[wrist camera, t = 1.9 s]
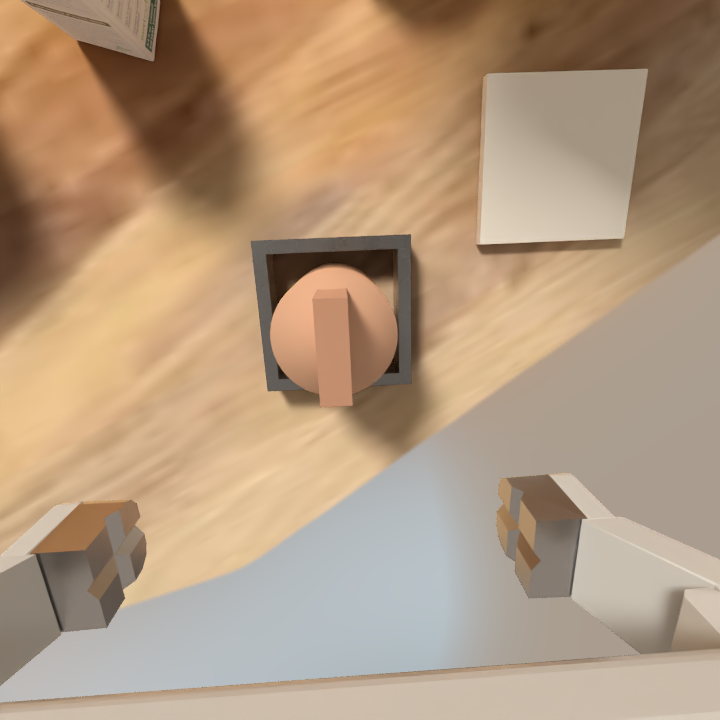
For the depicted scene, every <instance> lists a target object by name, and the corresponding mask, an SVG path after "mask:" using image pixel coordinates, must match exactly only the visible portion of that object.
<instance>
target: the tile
mask: <svg viewBox="0 0 720 720" xmlns="http://www.w3.org/2000/svg"><path fill="white" fill-rule="evenodd" d="M647 74H648V69H621V70H586V71H552V72H517V73H487V75H486V76H485V77H484V78H483V89H482V113H481V138H480V162H479V186H478V210H477V234H476V244H504V243H527V242H551V241H575V240H598V239H622V238H624V235H625V228H626V221H627V214H628V207H629V200H630V193H631V186H632V179H633V172H634V165H635V158H636V151H637V144H638V137H639V130H640V123H641V116H642V109H643V102H644V95H645V88H646V81H647Z"/></svg>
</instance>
